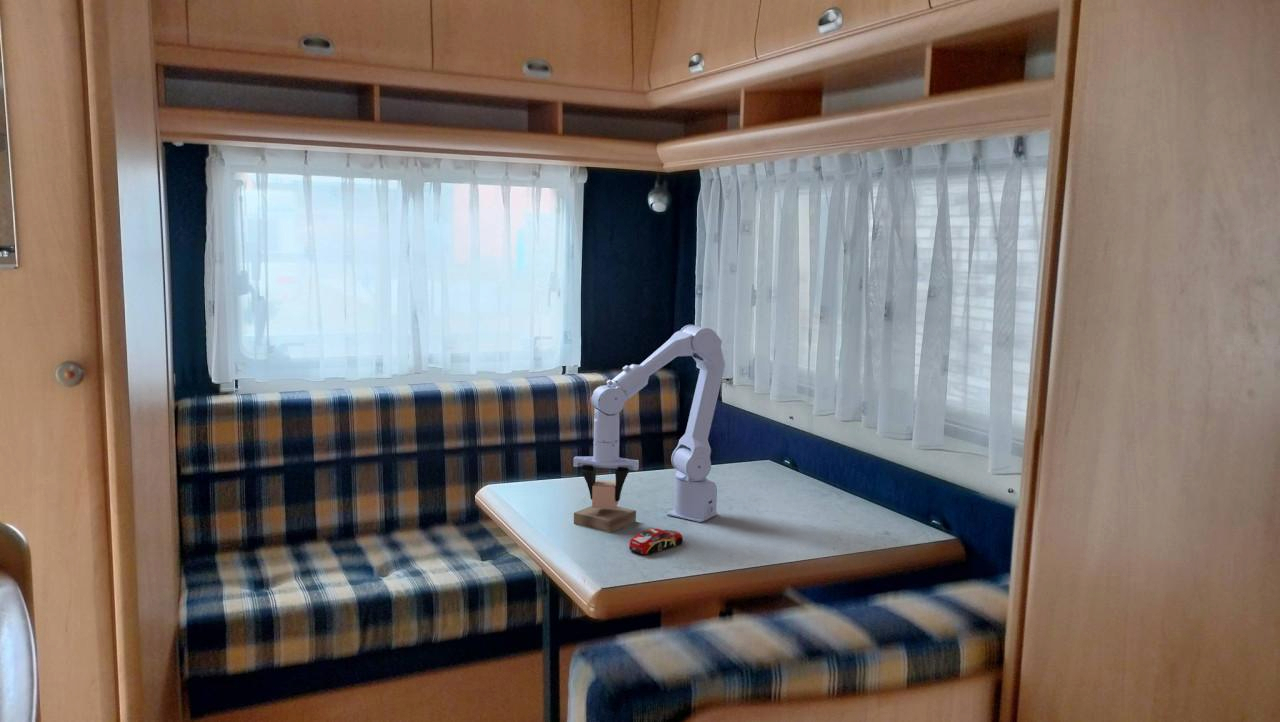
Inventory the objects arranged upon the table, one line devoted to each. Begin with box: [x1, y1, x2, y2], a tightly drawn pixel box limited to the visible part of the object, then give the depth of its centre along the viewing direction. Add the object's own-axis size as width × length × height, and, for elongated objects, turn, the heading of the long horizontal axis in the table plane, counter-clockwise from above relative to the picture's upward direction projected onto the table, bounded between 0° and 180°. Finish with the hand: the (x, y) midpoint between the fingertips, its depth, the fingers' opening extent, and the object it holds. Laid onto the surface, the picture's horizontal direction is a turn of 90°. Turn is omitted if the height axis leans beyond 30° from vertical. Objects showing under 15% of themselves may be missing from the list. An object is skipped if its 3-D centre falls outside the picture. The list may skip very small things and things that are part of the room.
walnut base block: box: [573, 505, 637, 533], centre depth 208 cm, size 10×10×3 cm
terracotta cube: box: [591, 479, 619, 509], centre depth 208 cm, size 5×5×5 cm
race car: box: [628, 528, 684, 555], centre depth 193 cm, size 13×5×4 cm, turn 133°
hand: (605, 499), depth 208 cm, fingers closed on terracotta cube, 5 cm apart
